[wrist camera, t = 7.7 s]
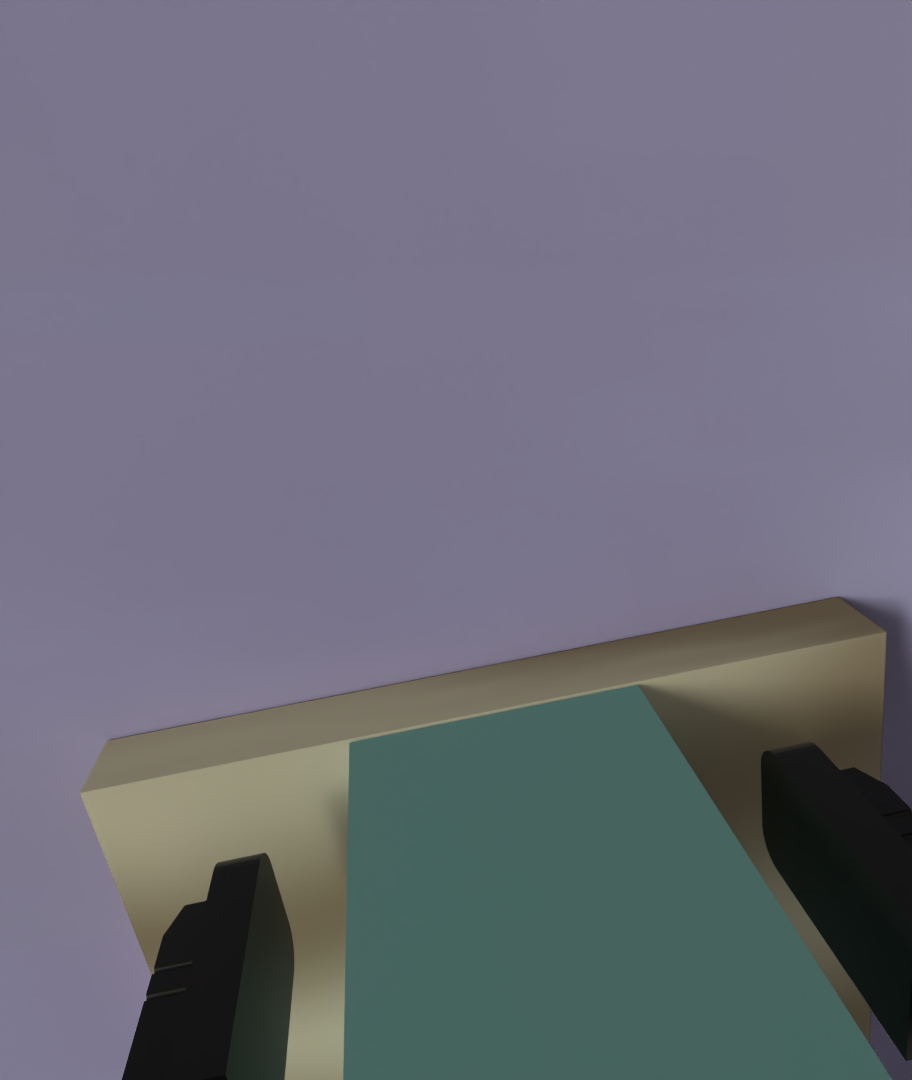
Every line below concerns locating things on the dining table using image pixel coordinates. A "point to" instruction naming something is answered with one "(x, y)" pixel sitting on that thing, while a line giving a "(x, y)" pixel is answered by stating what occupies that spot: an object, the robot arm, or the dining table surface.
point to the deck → (332, 723)
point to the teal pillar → (568, 913)
